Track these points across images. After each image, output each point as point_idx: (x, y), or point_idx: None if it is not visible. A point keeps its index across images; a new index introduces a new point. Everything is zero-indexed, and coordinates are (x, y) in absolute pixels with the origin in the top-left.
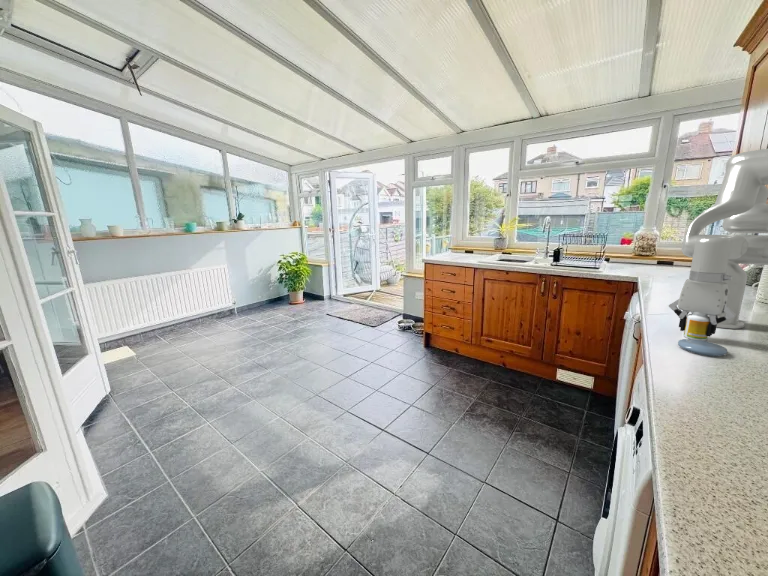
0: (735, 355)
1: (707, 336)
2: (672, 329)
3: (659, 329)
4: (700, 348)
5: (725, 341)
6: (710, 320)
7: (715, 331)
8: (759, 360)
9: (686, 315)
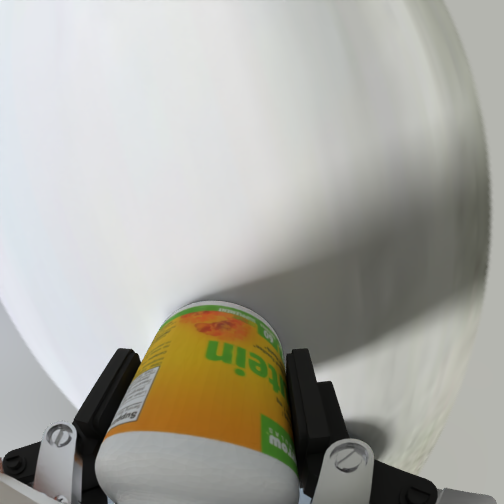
0: (395, 430)
1: (284, 365)
2: (60, 258)
3: (44, 321)
4: (302, 499)
5: (368, 269)
6: (298, 487)
7: (332, 386)
8: (448, 409)
9: (81, 457)
